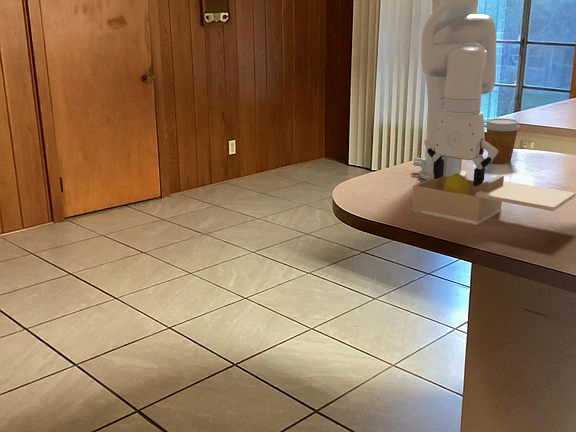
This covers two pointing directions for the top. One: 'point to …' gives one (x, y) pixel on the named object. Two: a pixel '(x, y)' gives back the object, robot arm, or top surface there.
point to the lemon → (456, 184)
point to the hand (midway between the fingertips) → (457, 181)
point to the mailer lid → (523, 194)
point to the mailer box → (453, 202)
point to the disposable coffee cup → (502, 138)
